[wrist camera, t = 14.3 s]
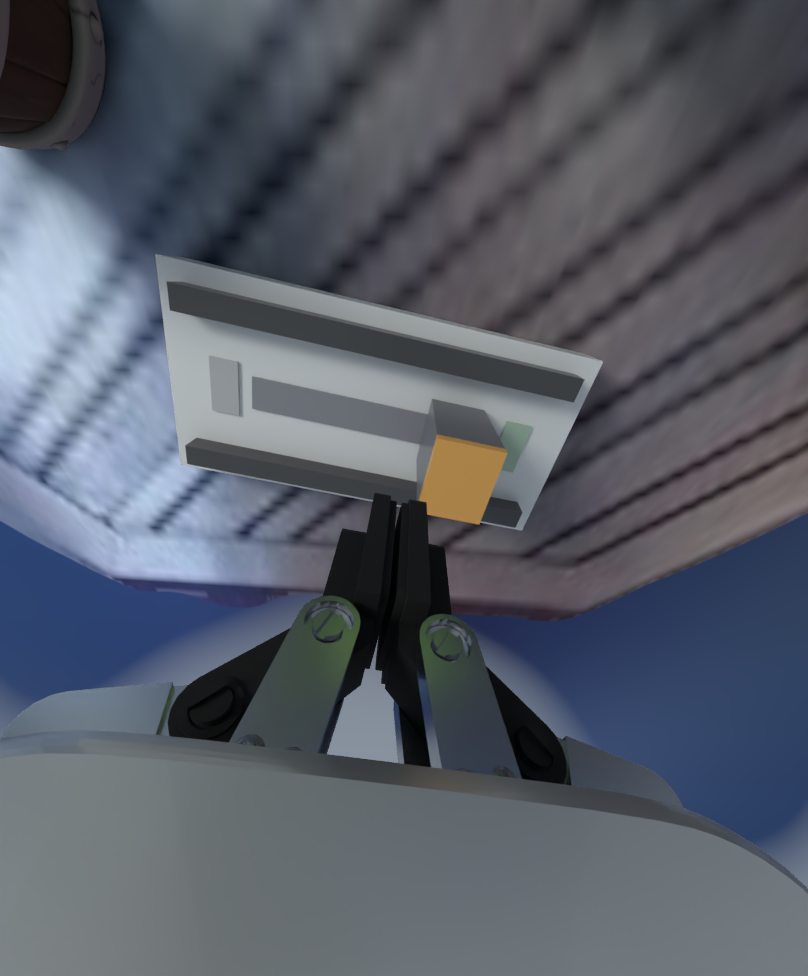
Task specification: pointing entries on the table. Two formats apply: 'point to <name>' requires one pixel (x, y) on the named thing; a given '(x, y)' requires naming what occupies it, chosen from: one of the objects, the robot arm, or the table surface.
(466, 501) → the block
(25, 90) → the flowerpot
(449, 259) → the table surface
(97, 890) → the robot arm
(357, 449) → the breaker panel
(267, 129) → the table surface
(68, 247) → the table surface
